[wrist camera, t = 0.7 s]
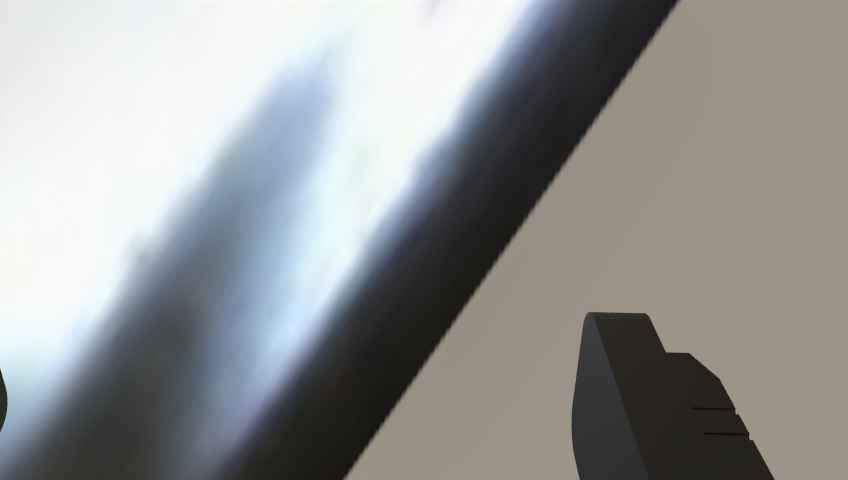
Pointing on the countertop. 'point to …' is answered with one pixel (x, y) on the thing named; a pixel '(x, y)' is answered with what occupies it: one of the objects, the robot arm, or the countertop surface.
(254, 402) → the countertop surface
